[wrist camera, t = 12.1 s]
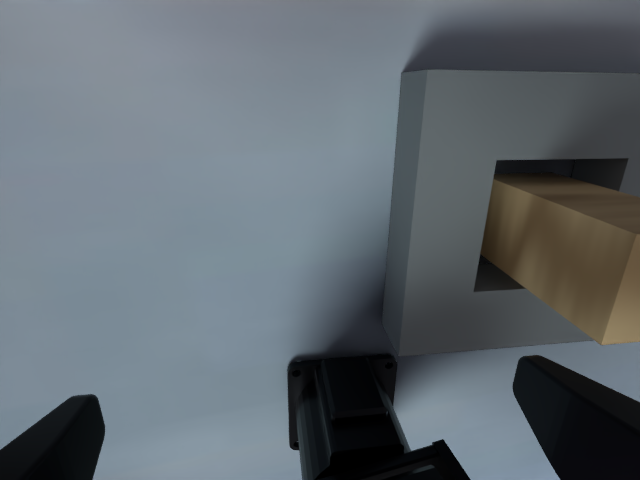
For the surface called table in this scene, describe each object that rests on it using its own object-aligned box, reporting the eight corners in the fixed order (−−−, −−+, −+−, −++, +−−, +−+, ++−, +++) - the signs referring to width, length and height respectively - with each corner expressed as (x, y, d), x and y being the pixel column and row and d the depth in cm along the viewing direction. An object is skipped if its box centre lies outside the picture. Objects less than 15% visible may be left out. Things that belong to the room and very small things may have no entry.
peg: (535, 242, 22) (703, 335, 13) (469, 245, 21) (601, 345, 13) (551, 172, 20) (749, 228, 12) (480, 174, 20) (636, 234, 12)
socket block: (588, 308, 24) (630, 337, 21) (381, 323, 22) (398, 356, 20) (658, 77, 19) (725, 74, 16) (401, 72, 17) (427, 69, 15)
